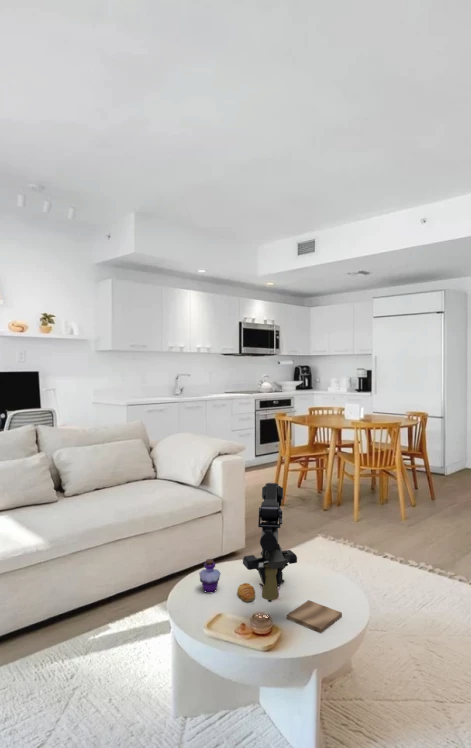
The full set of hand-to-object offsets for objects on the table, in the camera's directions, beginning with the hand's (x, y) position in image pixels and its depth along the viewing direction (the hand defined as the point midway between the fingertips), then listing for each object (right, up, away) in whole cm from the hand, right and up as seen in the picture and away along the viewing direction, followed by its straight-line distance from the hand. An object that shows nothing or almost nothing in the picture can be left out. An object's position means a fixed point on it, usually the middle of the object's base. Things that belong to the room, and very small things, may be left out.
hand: (270, 583), depth 177 cm
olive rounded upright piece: (0, -5, 0) cm, 5 cm away
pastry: (-8, -12, +17) cm, 22 cm away
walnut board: (+16, -12, 0) cm, 20 cm away
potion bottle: (-23, -12, +22) cm, 33 cm away
